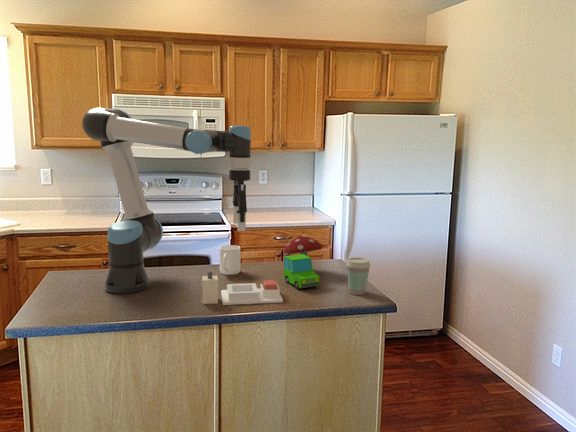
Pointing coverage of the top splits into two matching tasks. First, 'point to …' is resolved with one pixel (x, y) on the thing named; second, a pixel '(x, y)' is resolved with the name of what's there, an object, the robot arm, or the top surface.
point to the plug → (210, 289)
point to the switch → (269, 284)
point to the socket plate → (249, 294)
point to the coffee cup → (357, 275)
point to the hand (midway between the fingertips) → (239, 227)
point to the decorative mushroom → (302, 245)
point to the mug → (229, 259)
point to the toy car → (300, 271)
